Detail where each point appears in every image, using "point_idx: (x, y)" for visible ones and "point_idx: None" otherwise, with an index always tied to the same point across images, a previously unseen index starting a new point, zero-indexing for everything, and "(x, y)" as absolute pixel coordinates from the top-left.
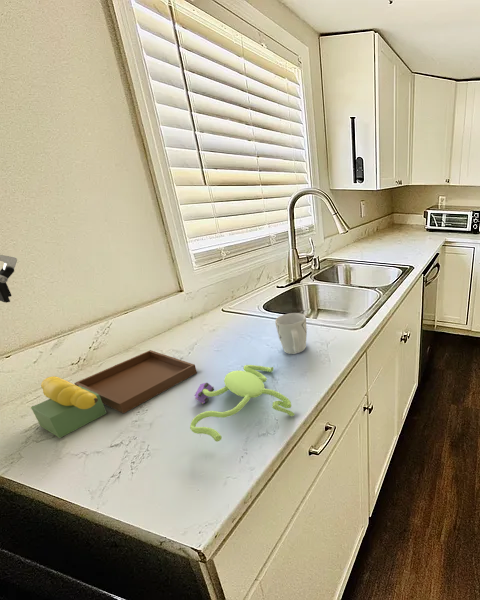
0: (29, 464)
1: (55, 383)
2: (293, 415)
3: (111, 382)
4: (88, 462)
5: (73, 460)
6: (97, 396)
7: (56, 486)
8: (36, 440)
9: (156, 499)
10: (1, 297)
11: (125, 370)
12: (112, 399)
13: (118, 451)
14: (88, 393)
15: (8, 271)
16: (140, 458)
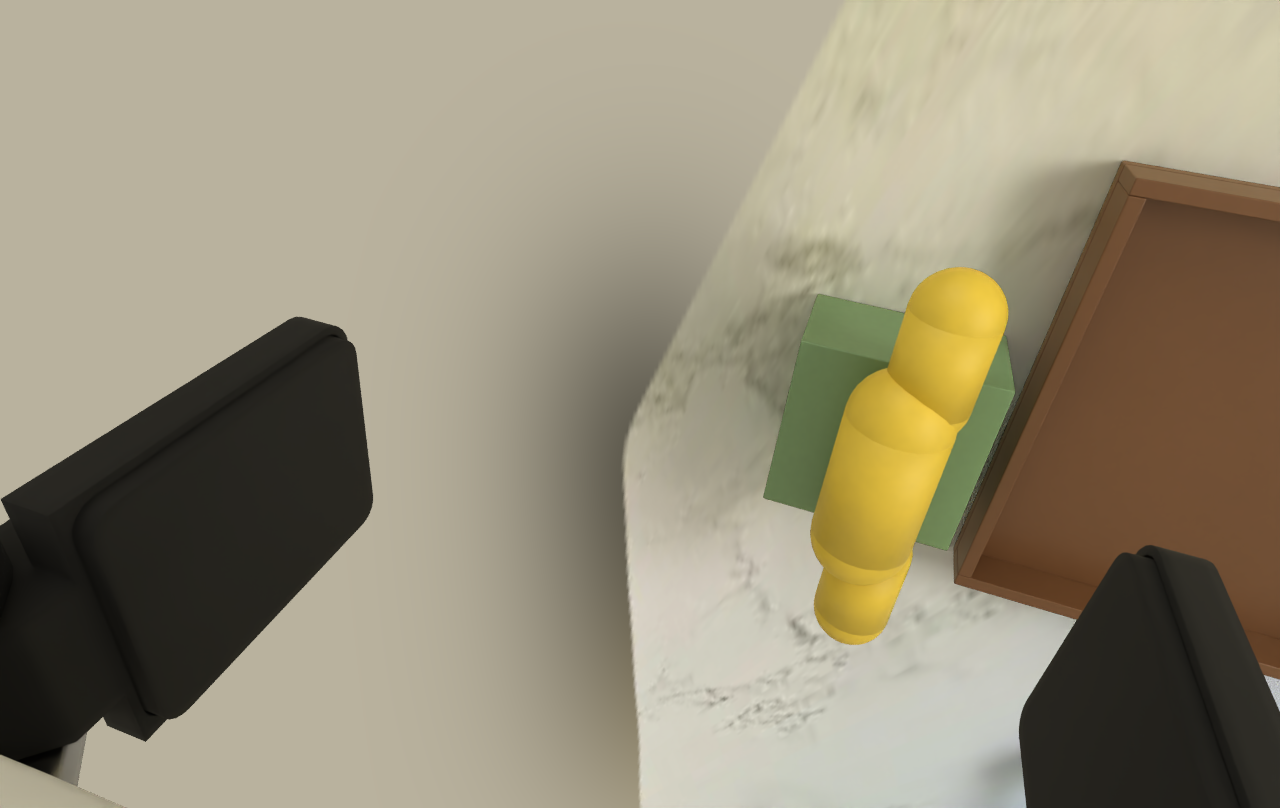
0: (670, 459)
1: (877, 484)
2: None
3: (1224, 302)
4: (725, 608)
5: (719, 565)
6: (938, 545)
7: (645, 596)
8: (752, 365)
9: (691, 795)
10: (1047, 755)
11: None
12: (983, 531)
13: (780, 653)
14: (861, 639)
15: None
16: (774, 716)
